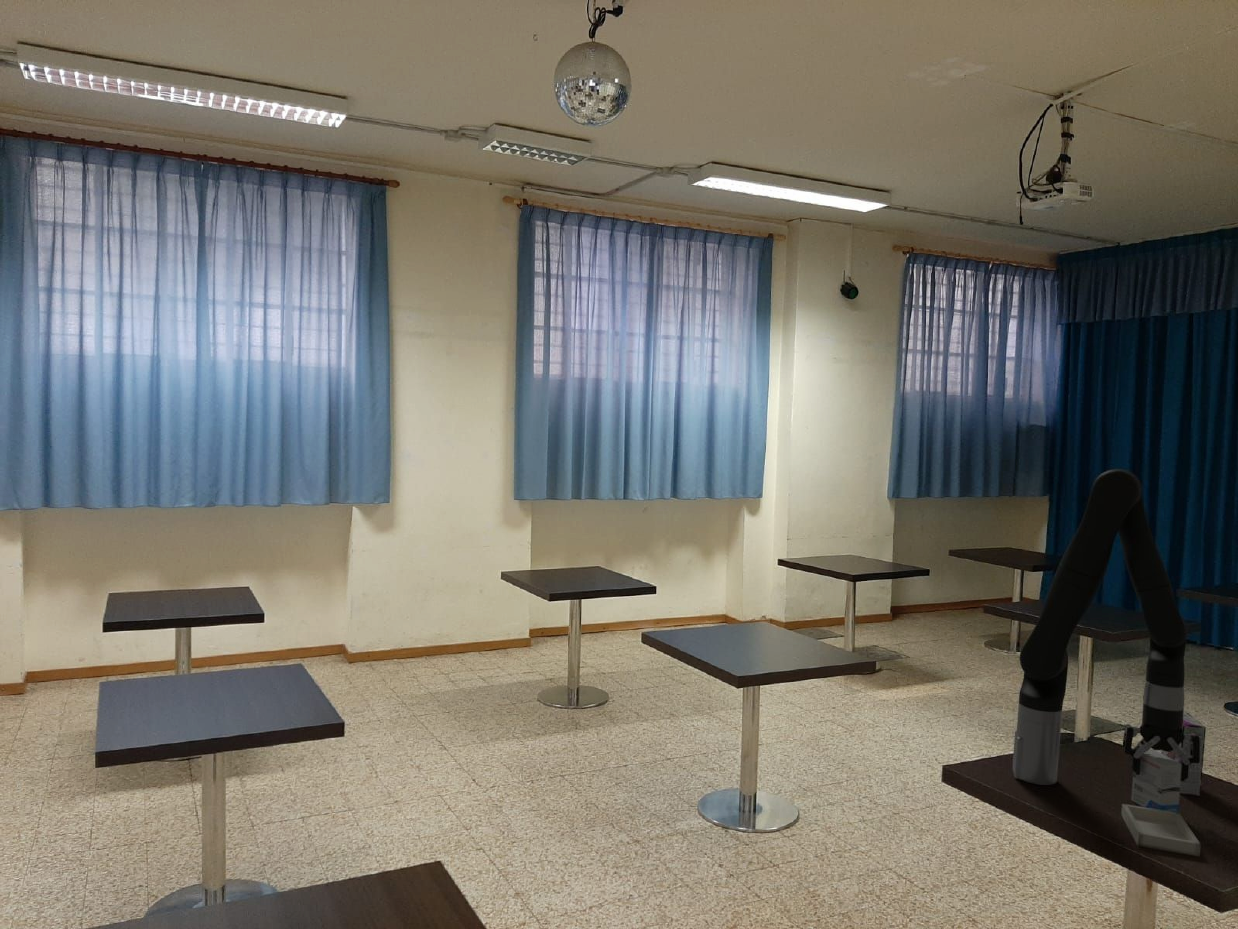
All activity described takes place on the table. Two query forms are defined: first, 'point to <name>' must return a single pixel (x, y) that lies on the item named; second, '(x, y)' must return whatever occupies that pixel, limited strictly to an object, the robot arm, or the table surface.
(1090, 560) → the robot arm
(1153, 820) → the tray
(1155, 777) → the ink box
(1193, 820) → the table surface
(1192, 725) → the candy bar box
